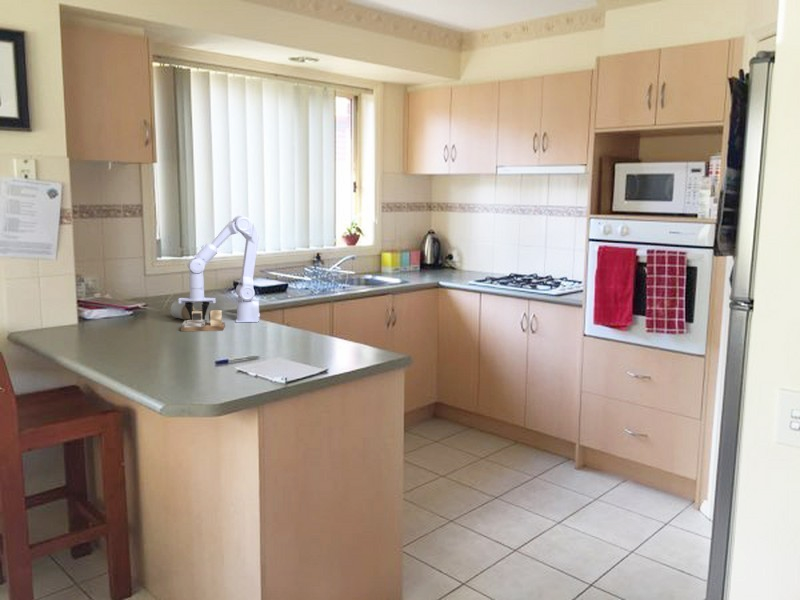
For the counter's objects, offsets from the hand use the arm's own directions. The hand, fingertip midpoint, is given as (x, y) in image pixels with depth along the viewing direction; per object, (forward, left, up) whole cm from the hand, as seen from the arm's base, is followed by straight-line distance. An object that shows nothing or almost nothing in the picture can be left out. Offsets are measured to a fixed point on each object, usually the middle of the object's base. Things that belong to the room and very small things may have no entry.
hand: (197, 320), depth 281 cm
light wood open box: (-3, +10, -1) cm, 11 cm away
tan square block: (0, 0, -1) cm, 1 cm away
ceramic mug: (+7, -12, -2) cm, 14 cm away
